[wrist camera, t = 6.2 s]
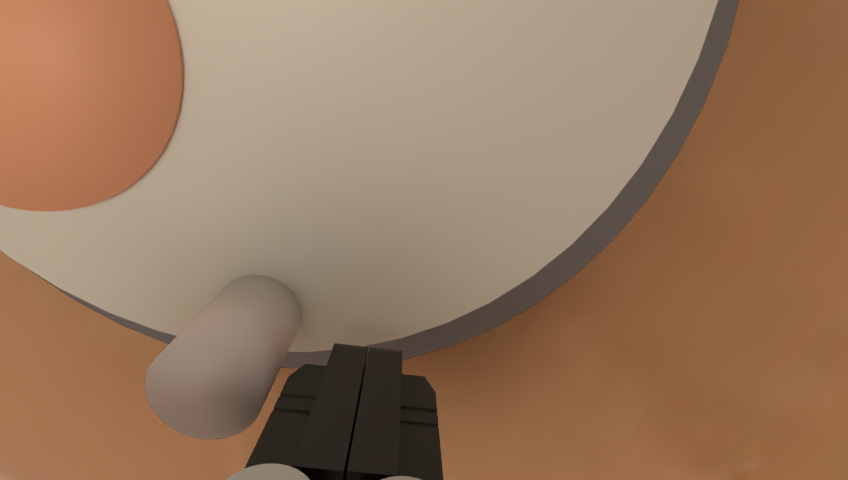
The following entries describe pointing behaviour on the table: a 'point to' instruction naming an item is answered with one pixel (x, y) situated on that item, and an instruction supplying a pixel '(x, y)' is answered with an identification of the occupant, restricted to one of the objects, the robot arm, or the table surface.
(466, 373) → the table surface
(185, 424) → the shallow cream dish
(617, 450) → the table surface
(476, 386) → the table surface
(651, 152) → the turntable base
